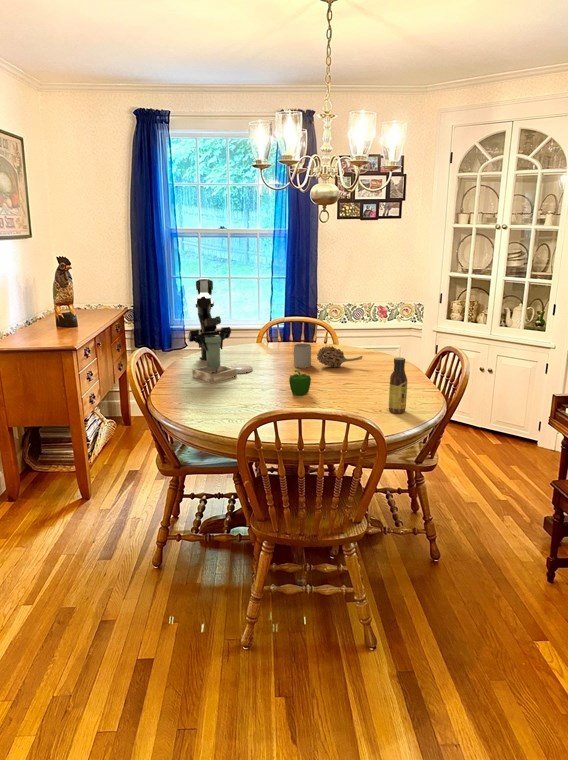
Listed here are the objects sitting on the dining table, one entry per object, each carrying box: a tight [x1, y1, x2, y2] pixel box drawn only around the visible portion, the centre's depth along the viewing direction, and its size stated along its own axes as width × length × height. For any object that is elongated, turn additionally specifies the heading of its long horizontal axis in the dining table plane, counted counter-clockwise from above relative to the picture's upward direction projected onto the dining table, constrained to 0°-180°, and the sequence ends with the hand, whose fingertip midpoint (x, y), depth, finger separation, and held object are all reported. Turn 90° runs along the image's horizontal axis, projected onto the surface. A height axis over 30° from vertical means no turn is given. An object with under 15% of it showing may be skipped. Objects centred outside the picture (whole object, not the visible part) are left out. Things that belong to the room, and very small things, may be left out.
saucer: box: [228, 364, 254, 374], centre depth 263 cm, size 12×12×1 cm
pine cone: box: [316, 345, 364, 368], centre depth 265 cm, size 22×10×10 cm, turn 85°
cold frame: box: [191, 364, 238, 384], centre depth 252 cm, size 14×14×4 cm
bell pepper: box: [288, 369, 312, 397], centre depth 225 cm, size 8×8×10 cm
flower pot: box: [205, 335, 221, 368], centre depth 249 cm, size 7×7×13 cm
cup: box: [293, 343, 312, 369], centre depth 269 cm, size 8×8×10 cm
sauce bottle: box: [388, 356, 408, 414], centre depth 203 cm, size 7×6×20 cm
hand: (214, 349), depth 248 cm, fingers closed on flower pot, 6 cm apart
